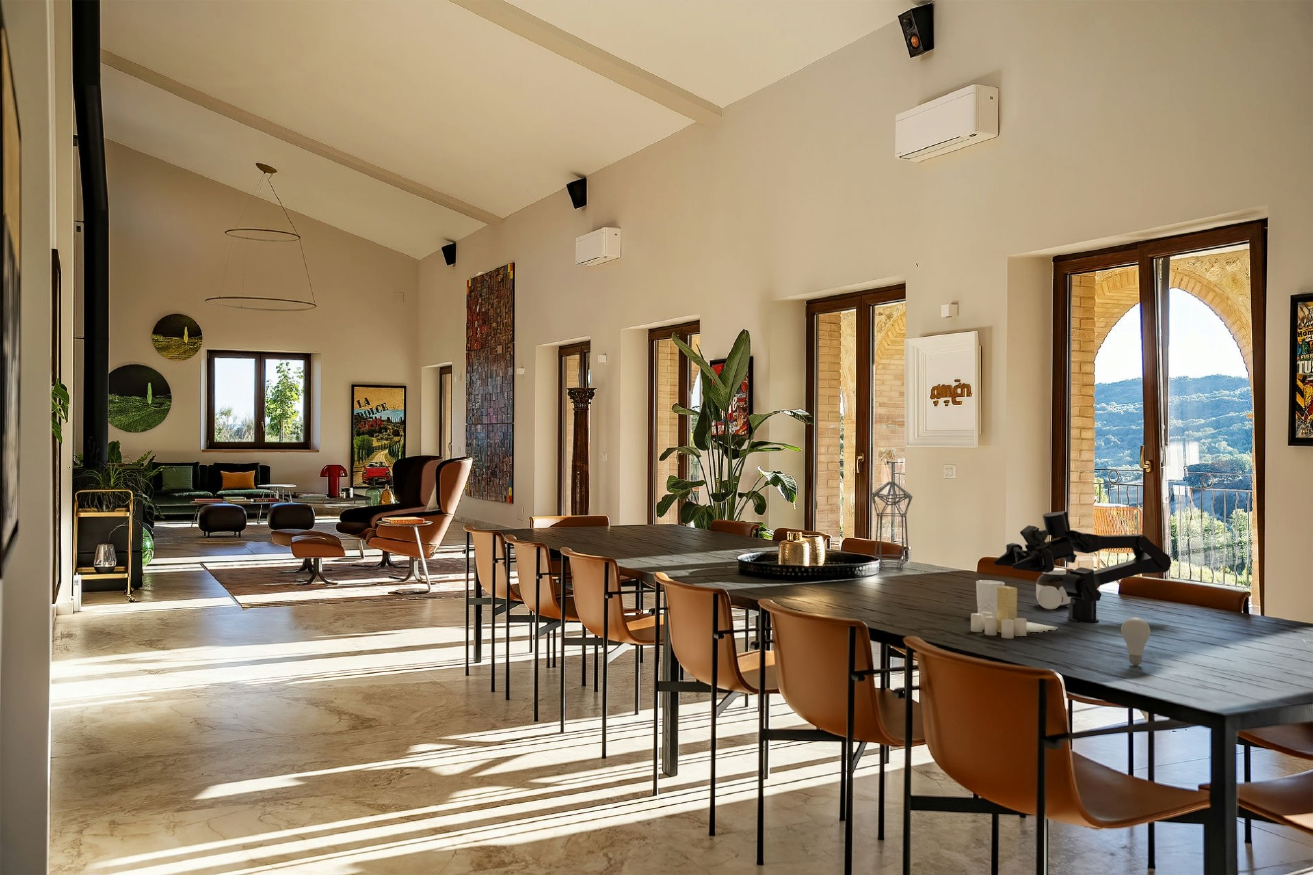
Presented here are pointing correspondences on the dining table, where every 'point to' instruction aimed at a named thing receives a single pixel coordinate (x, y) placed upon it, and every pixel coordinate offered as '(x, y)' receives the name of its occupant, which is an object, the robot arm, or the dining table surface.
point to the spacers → (990, 625)
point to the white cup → (987, 596)
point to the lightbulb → (1135, 638)
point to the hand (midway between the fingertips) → (1003, 564)
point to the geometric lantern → (907, 495)
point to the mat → (1039, 627)
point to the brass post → (1006, 604)
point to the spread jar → (1052, 590)
